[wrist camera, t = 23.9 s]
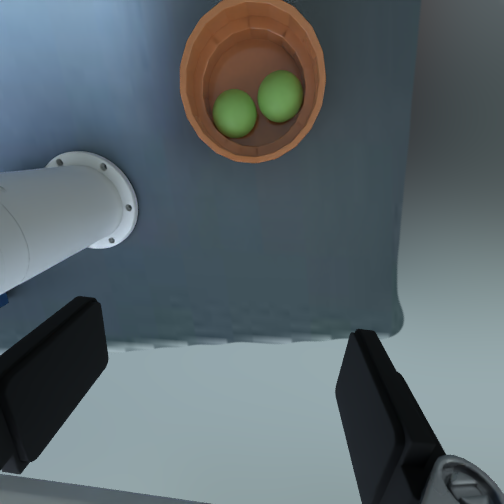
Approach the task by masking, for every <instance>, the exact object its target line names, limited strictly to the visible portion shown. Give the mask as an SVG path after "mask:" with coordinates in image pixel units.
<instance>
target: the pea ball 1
mask: <svg viewBox="0 0 504 504" xmlns="http://www.w3.org/2000/svg"><path fill="white" fill-rule="evenodd" d="M256 118H257V111H256V106H255V103H254V101H253V100H252V98H251V97H250V96H249V95H248V94H247V93H246V92H244V91H242V90H239V89H229V90H226V91H224V92H223V93H221V94H220V95H219V96H218V97H217V99H216V101H215V103H214V106H213V120H214V123H215V125H216V127H217V129H218V130H219V131H220V132H221V133H222V134H223V135H225V136H227V137H230V138H241V137H243V136H245V135H247V134H248V133H249V132H250V131H251V130H252V129H253V127H254V125H255V122H256Z"/></svg>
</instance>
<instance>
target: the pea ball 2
mask: <svg viewBox="0 0 504 504" xmlns="http://www.w3.org/2000/svg"><path fill="white" fill-rule="evenodd" d="M257 100H258V105H259V108H260V111H261V112H262V114H263V115H264V116H265V117H266V118H267V119H269V120H270V121H273V122H285V121H288V120H290V119H291V118H293V117H294V116H295V115H296V114H297V113H298V111H299V109H300V107H301V105H302V101H303V89H302V85H301V83H300V81H299V79H298V78H297V77H296V76H295V75H294V74H293V73H291V72H289V71H286V70H277V71H274V72H272V73H270V74H269V75H267V76H266V77H265V78H264V80H263V81H262V83H261V84H260V87H259V90H258V96H257Z"/></svg>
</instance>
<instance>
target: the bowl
mask: <svg viewBox="0 0 504 504" xmlns="http://www.w3.org/2000/svg"><path fill="white" fill-rule="evenodd" d="M277 70H286V71H289V72H291V73H293V74H294V75H295V76H296V77H297V78H298V79H299V81H300V83H301V85H302V89H303V101H302V105H301V107H300V109H299V111H298V113H297V114H296V115H295V116H294V117H293V118H291V119H290V120H288V121H285V122H273V121H270V120H269V119H267V118H266V117H265V116H264V115H263V114H262V112H261V111H260V108H259V105H258V100H257V96H258V90H259V87H260V84H261V83H262V81H263V80H264V78H265V77H266V76H267V75H269V74H270V73H272V72H274V71H277ZM325 84H326V73H325V64H324V55H323V50H322V48H321V46H320V43H319V41H318V39H317V36H316V34H315V32H314V30H313V27H312V26H311V25H310V23H309V22H308V21H307V20H306V19H305V18H304V17H303V16H302V15H301V14H300V12H299V11H298V10H297V9H296V8H295V7H294V6H292V5H290V4H288V3H286V2H284V1H282V0H223V1H222V2H220V3H218V4H217V5H216V6H215V7H213V8H212V9H211V10H210V11H209V12H207V13H206V14H205V15H204V16H203V17H202V18H201V19H200V20H199V22H198V24H197V25H196V27H195V28H194V30H193V32H192V33H191V35H190V36H189V38H188V40H187V42H186V45H185V49H184V53H183V57H182V60H181V64H180V95H181V98H182V102H183V105H184V109H185V112H186V116H187V118H188V120H189V122H190V123H191V125H192V127H193V128H194V130H195V132H196V133H197V135H198V136H199V137H200V139H201V140H202V141H203V142H205V143H206V144H207V145H208V146H209V147H210V148H211V149H212V150H213V151H215V152H216V153H218V154H220V155H222V156H224V157H227V158H229V159H231V160H233V161H236V162H246V163H260V162H264V161H268V160H273V159H276V158H278V157H280V156H282V155H283V154H285V153H286V152H288V151H290V150H291V149H293V148H295V147H296V146H297V145H298V144H299V142H300V141H301V140H302V139H303V138H304V137H305V136H306V134H307V133H308V132H309V131H310V130H311V128H312V126H313V124H314V122H315V120H316V118H317V115H318V113H319V111H320V109H321V107H322V102H323V96H324V90H325ZM229 89H239V90H242V91H244V92H246V93H247V94H248V95H249V96H250V97H251V98H252V100H253V101H254V103H255V106H256V111H257V118H256V122H255V125H254V127H253V129H252V130H251V131H250V132H249V133H248V134H247V135H245V136H243V137H241V138H230V137H227V136H225V135H223V134H222V133H221V132H220V131H219V130H218V129H217V127H216V125H215V123H214V120H213V106H214V103H215V101H216V99H217V97H218V96H219V95H220V94H221V93H223V92H224V91H226V90H229Z"/></svg>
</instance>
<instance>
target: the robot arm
mask: <svg viewBox="0 0 504 504" xmlns="http://www.w3.org/2000/svg"><path fill="white" fill-rule="evenodd" d="M106 166H107V168H106ZM130 205H131V206H132V208H131V206H130ZM137 216H138V203H137V199H136V195H135V192H134V190H133V187H132V185H131V183H130V182H129V180H128V178H127V177H126V176H125V175H124V173H123V172H122V171H121V170H120V169H119V168H118V167H117V166H116V165H115V164H113V163H112V162H111V161H109V160H107V159H106V158H104V157H102V156H100V155H97V154H95V153H90V152H85V151H73V152H66V153H63V154H60V155H58V156H56V157H55V158H53V159H52V160H51V161H50V162H49V163H48V164H47V165H46V167H45V168H40V169H31V170H21V171H11V172H1V173H0V295H1V294H3V293H5V292H6V291H8V290H10V289H12V288H14V287H15V286H17V285H19V284H21V283H23V282H25V281H27V280H29V279H30V278H32V277H34V276H36V275H38V274H40V273H41V272H43V271H45V270H47V269H49V268H50V267H52V266H54V265H56V264H58V263H59V262H61V261H63V260H65V259H67V258H68V257H70V256H72V255H74V254H76V253H77V252H79V251H81V250H83V249H85V248H86V247H89V248H94V249H103V248H109V247H112V246H114V245H117V244H119V243H120V242H122V241H123V240H125V239H126V238H127V237H128V236H129V235H130V233H131V232H132V231H133V229H134V227H135V224H136V222H137ZM107 363H108V351H107V344H106V337H105V330H104V323H103V316H102V309H101V304H100V303H99V302H97V300H96V299H95V298H91V297H83V296H78V297H76V298H74V299H73V300H72V301H70V302H69V303H68V304H67V305H65V306H64V307H63V308H61V309H60V310H59V311H57V312H56V313H55V314H54V315H52V316H51V317H50V318H48V319H47V320H46V321H44V322H43V323H42V324H41V325H39V326H38V327H37V328H35V329H34V330H33V331H32V332H30V333H29V334H28V335H26V336H25V337H24V338H22V339H21V340H20V341H19V342H17V343H16V344H15V345H13V346H12V347H11V348H10V349H8V350H7V351H6V352H4V353H3V354H2V355H0V470H2V472H8V473H15V474H21V473H22V472H23V470H24V469H25V468H26V466H27V465H28V464H29V463H30V462H32V461H34V460H36V459H37V457H39V455H40V454H41V453H42V451H43V450H44V449H45V447H46V446H47V445H48V443H49V442H50V441H51V439H52V438H53V437H54V435H55V434H56V433H57V431H58V430H59V429H60V427H61V426H62V425H63V424H64V422H65V421H66V419H67V418H68V417H69V416H70V414H71V413H72V412H73V410H74V409H75V408H76V406H77V405H78V403H79V402H80V401H81V399H82V398H83V397H84V396H85V394H86V393H87V392H88V390H89V389H90V388H91V386H92V385H93V384H94V382H95V381H96V380H97V378H98V377H99V376H100V374H101V373H102V372H103V370H104V369H105V368H106V366H107ZM335 393H336V399H337V404H338V408H339V412H340V416H341V420H342V424H343V428H344V432H345V436H346V440H347V444H348V448H349V452H350V457H351V461H352V465H353V469H354V473H355V477H356V481H357V485H358V489H359V493H360V497H361V501H362V504H504V494H503V493H502V491H501V490H500V488H499V487H498V486H497V484H496V483H495V482H494V481H493V480H492V479H491V478H490V477H489V476H488V475H487V474H486V473H485V472H483V471H482V470H481V469H480V468H478V467H477V466H476V465H474V464H473V463H471V462H469V461H467V460H465V459H464V458H461V457H458V456H454V455H446V454H445V452H444V450H443V448H442V446H441V444H440V443H439V441H438V439H437V437H436V435H435V434H434V432H433V430H432V428H431V427H430V425H429V423H428V421H427V420H426V418H425V416H424V414H423V412H422V410H421V409H420V407H419V405H418V403H417V401H416V399H415V398H414V396H413V394H412V392H411V391H410V389H409V387H408V385H407V383H406V382H405V380H404V378H403V377H402V375H401V374H400V373H398V372H397V371H396V369H395V368H394V366H393V364H392V362H391V360H390V358H389V357H388V355H387V353H386V351H385V349H384V347H383V346H382V344H381V342H380V340H379V338H378V336H377V334H376V333H375V331H372V330H363V329H357V330H356V331H355V333H354V332H352V333H351V334H350V336H349V340H348V344H347V347H346V351H345V355H344V358H343V362H342V366H341V369H340V373H339V377H338V381H337V384H336V390H335ZM0 504H209V503H203V502H196V501H189V500H182V499H175V498H168V497H161V496H153V495H147V494H140V493H133V492H126V491H119V490H112V489H105V488H98V487H91V486H84V485H77V484H69V483H62V482H55V481H47V480H40V479H33V478H26V477H18V476H11V475H3V474H0Z"/></svg>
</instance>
